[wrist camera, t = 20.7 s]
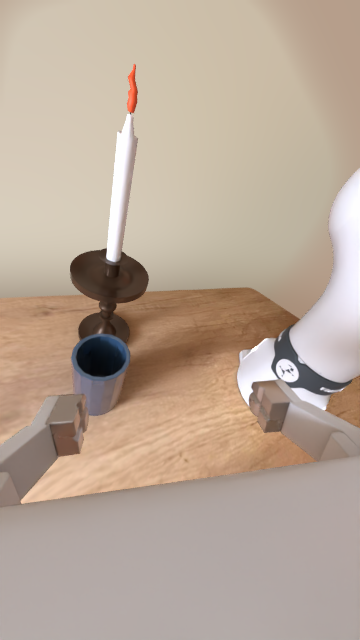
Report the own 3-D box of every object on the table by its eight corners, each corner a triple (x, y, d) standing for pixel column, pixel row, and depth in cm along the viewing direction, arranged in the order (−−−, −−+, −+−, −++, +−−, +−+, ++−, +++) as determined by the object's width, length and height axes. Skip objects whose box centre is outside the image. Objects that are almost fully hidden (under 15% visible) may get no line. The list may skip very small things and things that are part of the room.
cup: (112, 369, 37) (120, 329, 30) (125, 405, 34) (137, 370, 26) (69, 381, 34) (66, 339, 26) (79, 423, 30) (79, 388, 23)
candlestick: (75, 310, 43) (68, 32, 19) (131, 313, 47) (183, 88, 23) (69, 357, 36) (46, 18, 12) (135, 356, 40) (216, 101, 16)
